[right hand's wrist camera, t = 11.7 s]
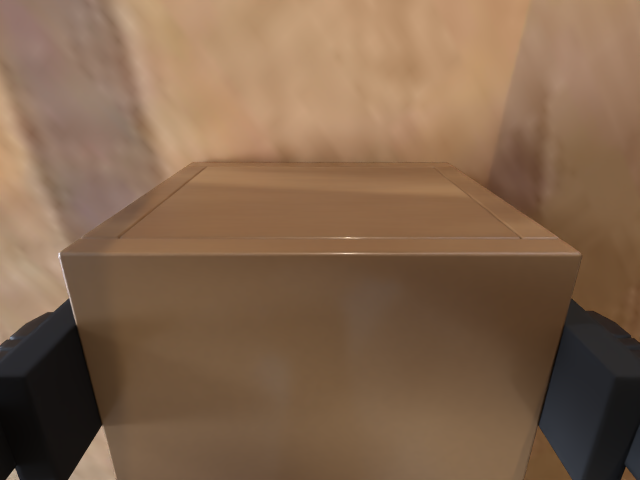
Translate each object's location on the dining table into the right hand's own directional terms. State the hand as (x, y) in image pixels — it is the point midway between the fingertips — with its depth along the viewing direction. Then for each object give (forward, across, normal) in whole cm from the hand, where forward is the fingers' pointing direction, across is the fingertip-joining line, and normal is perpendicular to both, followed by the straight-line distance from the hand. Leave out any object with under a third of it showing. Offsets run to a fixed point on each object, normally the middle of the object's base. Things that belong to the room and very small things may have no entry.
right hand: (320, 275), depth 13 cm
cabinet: (+4, 0, -6) cm, 7 cm away
